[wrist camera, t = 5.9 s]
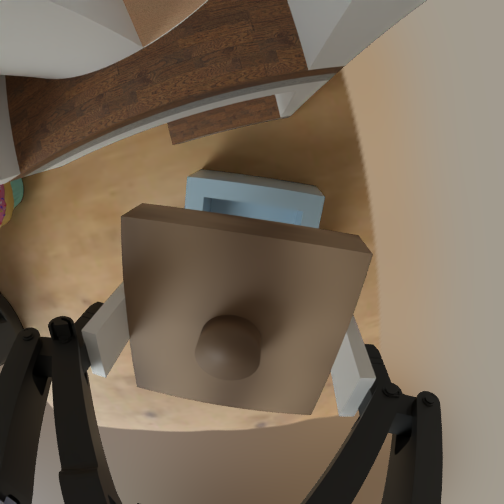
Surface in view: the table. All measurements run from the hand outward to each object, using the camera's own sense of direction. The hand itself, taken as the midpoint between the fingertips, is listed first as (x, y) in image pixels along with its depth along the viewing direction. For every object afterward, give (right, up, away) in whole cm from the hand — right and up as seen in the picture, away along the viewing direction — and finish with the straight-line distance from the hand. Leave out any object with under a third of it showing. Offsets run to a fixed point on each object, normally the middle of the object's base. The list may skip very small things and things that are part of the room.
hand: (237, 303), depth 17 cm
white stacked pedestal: (-2, +20, +7) cm, 21 cm away
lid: (0, 0, -1) cm, 1 cm away
